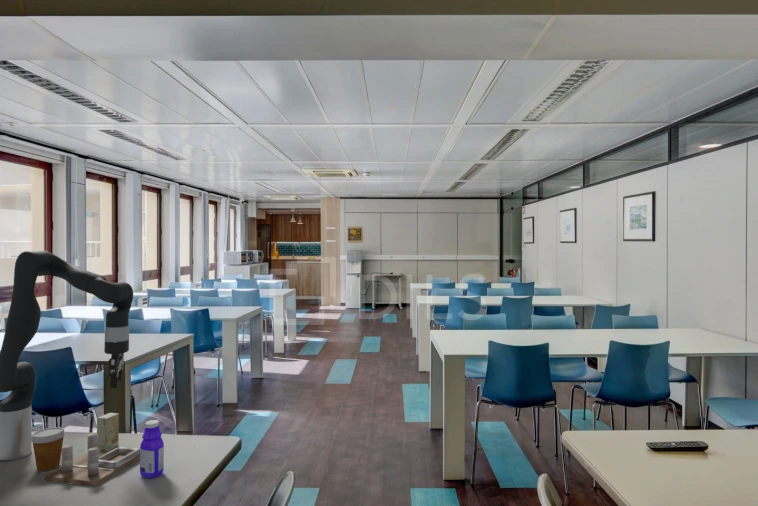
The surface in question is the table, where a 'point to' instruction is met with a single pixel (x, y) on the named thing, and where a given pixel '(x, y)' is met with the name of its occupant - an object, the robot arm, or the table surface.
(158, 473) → the bottle
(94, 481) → the pin board
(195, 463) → the table surface
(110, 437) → the skincare box
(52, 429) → the disposable coffee cup
